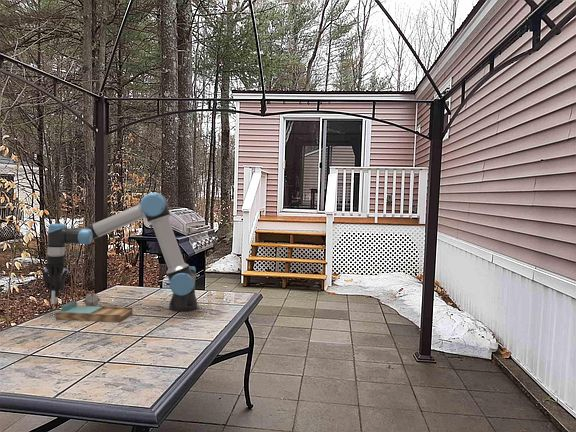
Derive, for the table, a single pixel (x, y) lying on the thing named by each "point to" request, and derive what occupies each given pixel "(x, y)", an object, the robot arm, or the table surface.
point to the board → (98, 315)
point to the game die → (91, 299)
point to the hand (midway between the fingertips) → (54, 303)
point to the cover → (78, 308)
